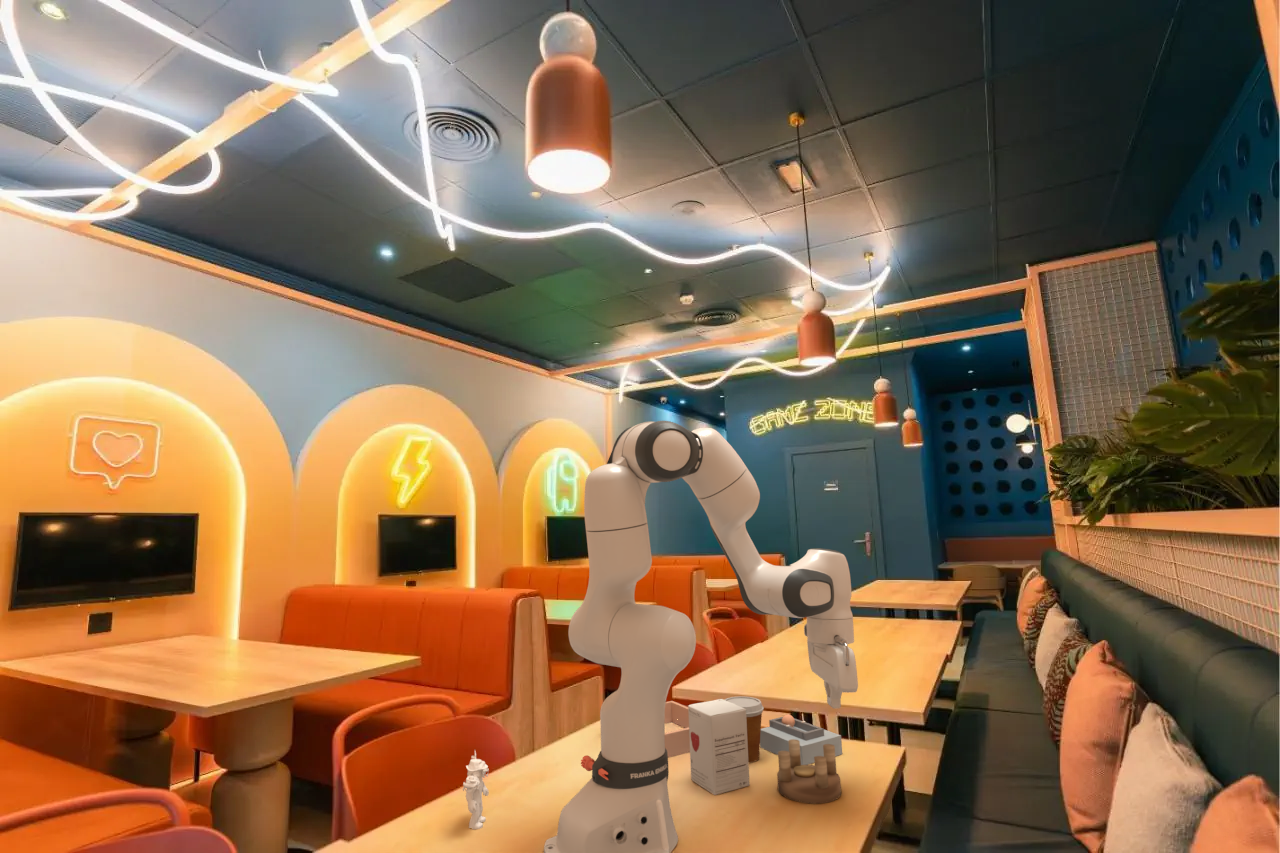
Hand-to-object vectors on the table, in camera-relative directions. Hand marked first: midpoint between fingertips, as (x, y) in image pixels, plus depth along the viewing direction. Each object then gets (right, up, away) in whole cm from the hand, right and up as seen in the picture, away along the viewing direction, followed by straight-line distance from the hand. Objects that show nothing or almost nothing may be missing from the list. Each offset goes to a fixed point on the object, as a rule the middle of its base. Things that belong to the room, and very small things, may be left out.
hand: (834, 706), depth 124 cm
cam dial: (-4, -17, +2) cm, 18 cm away
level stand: (-1, -20, +23) cm, 31 cm away
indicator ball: (-3, -15, +27) cm, 31 cm away
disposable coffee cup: (-14, -20, +20) cm, 32 cm away
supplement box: (-21, -19, +7) cm, 29 cm away
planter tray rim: (-32, -23, +34) cm, 52 cm away
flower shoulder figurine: (-67, -18, -8) cm, 70 cm away
